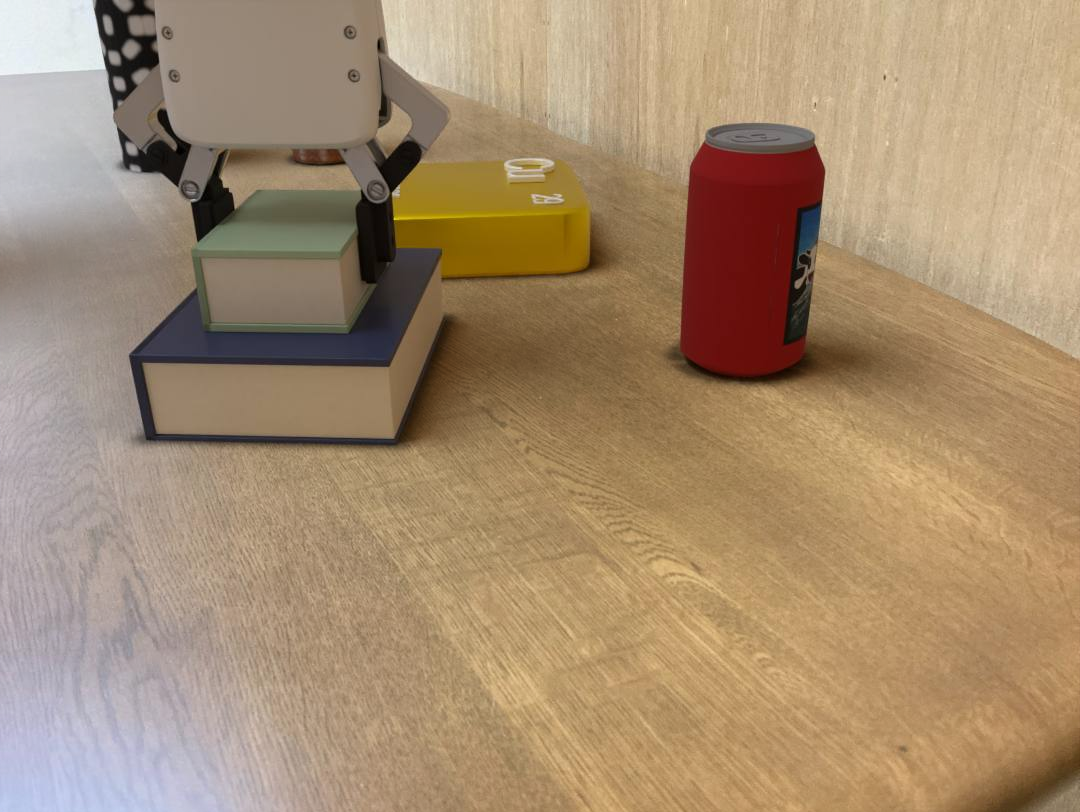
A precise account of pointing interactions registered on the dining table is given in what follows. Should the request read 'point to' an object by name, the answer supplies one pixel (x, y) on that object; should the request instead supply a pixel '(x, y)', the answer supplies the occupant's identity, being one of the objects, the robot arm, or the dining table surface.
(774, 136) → the beverage can
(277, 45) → the robot arm
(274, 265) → the hardcover book
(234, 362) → the encyclopedia
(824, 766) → the dining table surface
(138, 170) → the spotted tube
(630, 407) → the dining table surface
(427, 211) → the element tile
